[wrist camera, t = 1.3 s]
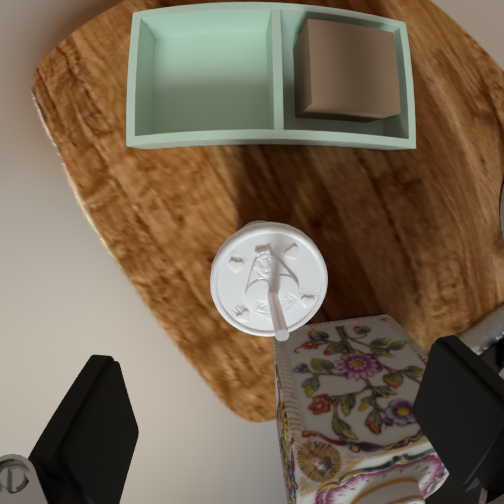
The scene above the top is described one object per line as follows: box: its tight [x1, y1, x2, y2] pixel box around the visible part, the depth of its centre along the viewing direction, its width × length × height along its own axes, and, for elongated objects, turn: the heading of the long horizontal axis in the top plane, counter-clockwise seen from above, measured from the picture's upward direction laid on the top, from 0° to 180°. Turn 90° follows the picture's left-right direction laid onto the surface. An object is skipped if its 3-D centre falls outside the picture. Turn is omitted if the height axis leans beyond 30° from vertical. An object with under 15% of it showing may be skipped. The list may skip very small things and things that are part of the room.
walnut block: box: [293, 19, 401, 123], centre depth 19 cm, size 6×6×6 cm
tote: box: [126, 2, 416, 150], centre depth 20 cm, size 20×10×5 cm, turn 90°
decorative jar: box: [273, 314, 449, 504], centre depth 21 cm, size 12×12×18 cm
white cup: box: [210, 220, 328, 341], centre depth 19 cm, size 6×6×14 cm
